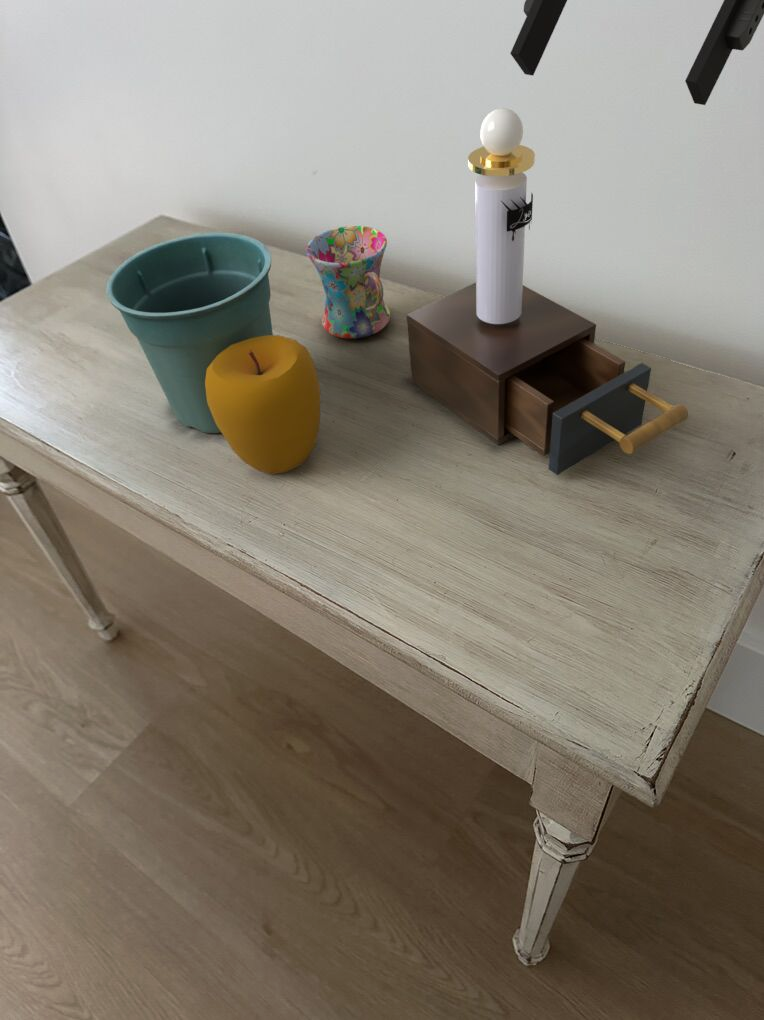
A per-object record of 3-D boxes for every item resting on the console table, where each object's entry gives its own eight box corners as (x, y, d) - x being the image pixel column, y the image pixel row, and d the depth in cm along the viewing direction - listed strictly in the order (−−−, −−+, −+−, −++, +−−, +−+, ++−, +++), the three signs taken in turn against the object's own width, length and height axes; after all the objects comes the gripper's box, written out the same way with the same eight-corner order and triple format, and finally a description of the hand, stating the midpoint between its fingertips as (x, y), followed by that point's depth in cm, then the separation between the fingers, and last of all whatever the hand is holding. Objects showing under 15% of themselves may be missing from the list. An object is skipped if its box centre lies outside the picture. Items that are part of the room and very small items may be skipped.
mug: (307, 321, 100) (292, 242, 92) (370, 296, 102) (361, 217, 95) (353, 365, 92) (341, 282, 84) (420, 337, 95) (414, 254, 87)
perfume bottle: (459, 324, 80) (454, 116, 66) (489, 298, 83) (490, 94, 69) (508, 340, 77) (514, 126, 63) (538, 312, 80) (549, 102, 66)
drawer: (693, 456, 75) (707, 398, 70) (606, 511, 71) (615, 454, 66) (546, 366, 87) (550, 311, 82) (465, 409, 83) (464, 354, 78)
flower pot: (126, 437, 86) (72, 306, 75) (196, 352, 97) (157, 227, 86) (262, 457, 82) (226, 322, 70) (319, 366, 92) (296, 235, 81)
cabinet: (588, 394, 84) (596, 324, 78) (498, 445, 80) (498, 375, 74) (497, 338, 93) (498, 271, 87) (411, 381, 89) (406, 314, 83)
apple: (273, 410, 87) (249, 306, 78) (352, 440, 82) (336, 333, 73) (205, 469, 81) (170, 364, 72) (286, 505, 76) (259, 397, 67)
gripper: (965, -205, 48) (790, 138, 51) (602, -190, 61) (482, 81, 64) (975, -327, 41) (774, 73, 45) (568, -281, 55) (438, 25, 58)
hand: (602, 78), depth 55 cm, fingers open, 13 cm apart
